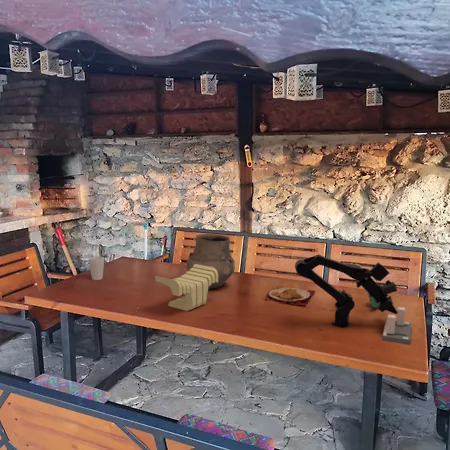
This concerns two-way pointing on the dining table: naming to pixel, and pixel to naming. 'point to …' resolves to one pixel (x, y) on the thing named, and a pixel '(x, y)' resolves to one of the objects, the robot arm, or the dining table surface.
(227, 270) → the ceramic pot
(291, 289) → the plate with food
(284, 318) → the dining table surface
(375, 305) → the mug
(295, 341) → the dining table surface
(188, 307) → the slatted curved stool
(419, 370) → the dining table surface
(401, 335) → the switch block
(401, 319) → the switch tab
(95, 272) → the foam cup
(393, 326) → the block
